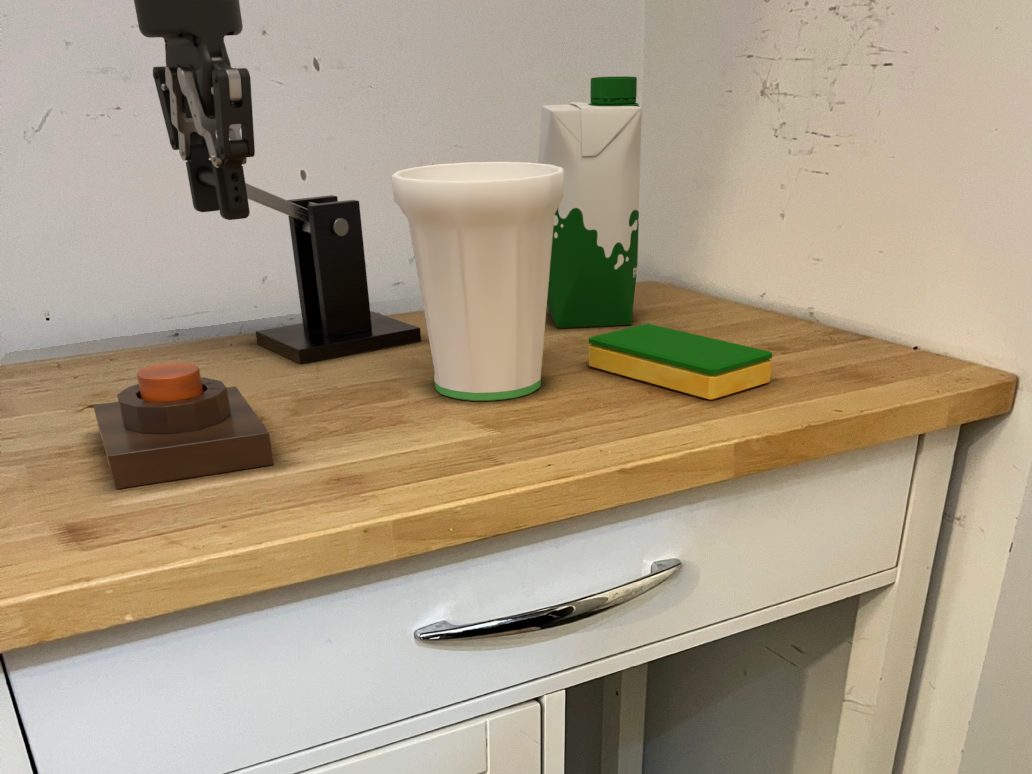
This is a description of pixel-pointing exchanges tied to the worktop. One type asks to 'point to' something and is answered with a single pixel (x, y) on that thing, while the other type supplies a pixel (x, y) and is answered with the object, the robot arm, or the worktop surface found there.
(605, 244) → the milk carton
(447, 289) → the cup
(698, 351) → the dish sponge
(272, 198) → the lever
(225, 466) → the button box
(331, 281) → the bracket
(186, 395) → the button
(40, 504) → the worktop surface
